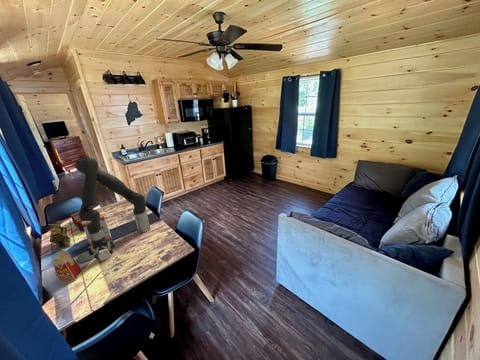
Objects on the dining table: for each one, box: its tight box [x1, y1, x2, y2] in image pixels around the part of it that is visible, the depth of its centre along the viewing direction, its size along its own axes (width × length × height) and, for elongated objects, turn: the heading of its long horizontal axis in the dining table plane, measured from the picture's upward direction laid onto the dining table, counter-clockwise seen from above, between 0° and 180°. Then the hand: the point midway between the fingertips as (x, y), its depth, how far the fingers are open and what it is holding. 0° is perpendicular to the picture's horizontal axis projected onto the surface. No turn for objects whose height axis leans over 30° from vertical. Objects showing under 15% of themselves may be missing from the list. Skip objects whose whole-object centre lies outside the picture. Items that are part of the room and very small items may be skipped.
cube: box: [98, 249, 111, 262], centre depth 139 cm, size 5×5×5 cm
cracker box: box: [82, 213, 112, 246], centre depth 153 cm, size 14×6×21 cm, turn 125°
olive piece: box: [47, 221, 71, 251], centre depth 150 cm, size 20×10×20 cm, turn 37°
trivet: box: [76, 249, 99, 264], centre depth 141 cm, size 12×12×1 cm
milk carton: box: [52, 248, 84, 284], centre depth 121 cm, size 9×9×20 cm
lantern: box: [70, 211, 85, 232], centre depth 177 cm, size 10×9×30 cm
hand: (104, 256), depth 139 cm, fingers open, 8 cm apart
